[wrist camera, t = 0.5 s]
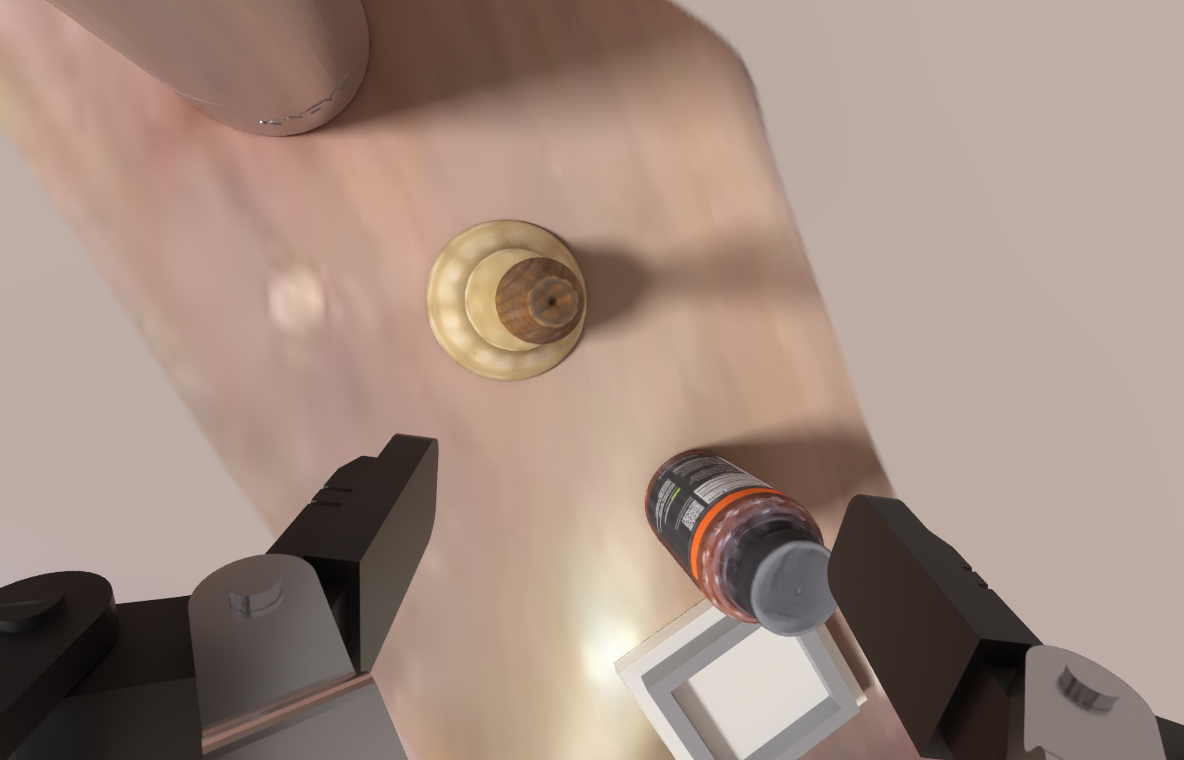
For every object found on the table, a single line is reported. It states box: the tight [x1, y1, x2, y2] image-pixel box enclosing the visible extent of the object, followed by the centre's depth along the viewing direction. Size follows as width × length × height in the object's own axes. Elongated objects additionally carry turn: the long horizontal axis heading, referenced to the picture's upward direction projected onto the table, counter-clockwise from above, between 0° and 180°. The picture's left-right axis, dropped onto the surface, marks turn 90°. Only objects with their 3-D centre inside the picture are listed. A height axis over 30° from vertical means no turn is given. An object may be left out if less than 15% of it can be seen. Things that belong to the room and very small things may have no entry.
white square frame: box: [613, 598, 867, 760], centre depth 34 cm, size 12×12×2 cm
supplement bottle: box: [645, 451, 837, 637], centre depth 27 cm, size 6×6×11 cm
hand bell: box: [426, 220, 587, 381], centre depth 22 cm, size 8×8×16 cm
